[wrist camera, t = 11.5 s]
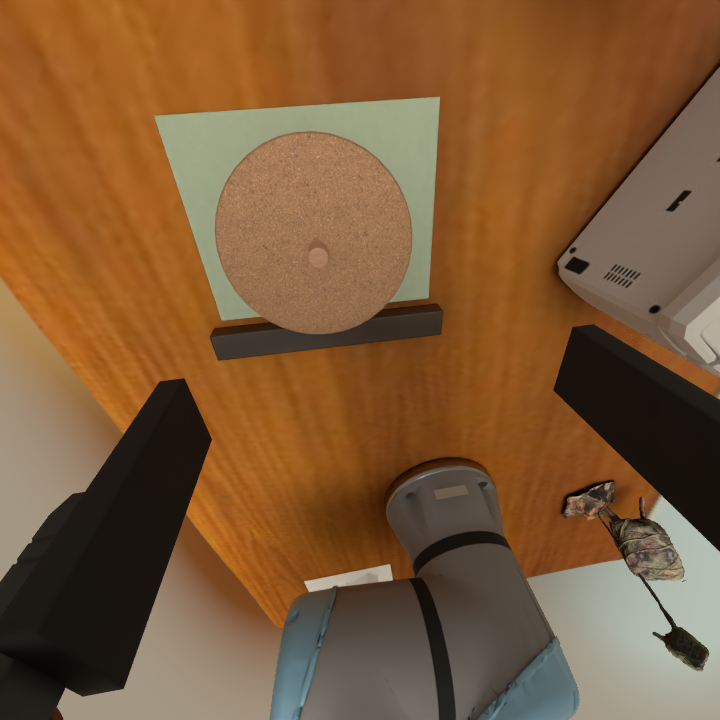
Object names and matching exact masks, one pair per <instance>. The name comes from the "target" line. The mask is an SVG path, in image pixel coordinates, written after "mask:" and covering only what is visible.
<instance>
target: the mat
mask: <svg viewBox="0 0 720 720" xmlns="http://www.w3.org/2000/svg"><path fill="white" fill-rule="evenodd" d="M439 106H440V97H428V98H413V99H398V100H383V101H368V102H353V103H338V104H322V105H307V106H292V107H277V108H262V109H247V110H232V111H217V112H202V113H187V114H172V115H157V116H154V117H155V120H156V123H157V126H158V129H159V132H160V135H161V138H162V141H163V144H164V147H165V150H166V153H167V156H168V159H169V162H170V165H171V168H172V172H173V175H174V178H175V181H176V184H177V187H178V190H179V193H180V196H181V199H182V202H183V205H184V208H185V211H186V214H187V217H188V220H189V223H190V226H191V229H192V232H193V235H194V238H195V241H196V244H197V247H198V250H199V253H200V256H201V259H202V262H203V265H204V268H205V272H206V275H207V278H208V281H209V284H210V287H211V290H212V293H213V296H214V299H215V302H216V305H217V308H218V311H219V314H220V317H221V320H222V321H226V320H235V319H244V318H253V317H262V316H260V315H259V314H257V313H256V312H255V311H254V310H253V309H251V308H250V307H249V306H248V305H247V304H246V303H245V302H244V301H243V300H242V298H241V297H240V296H239V295H238V294H237V293H236V291H235V290H234V288H233V287H232V285H231V283H230V282H229V280H228V279H227V276H226V274H225V272H224V270H223V267H222V265H221V262H220V258H219V255H218V251H217V246H216V238H215V216H216V211H217V206H218V201H219V197H220V195H221V192H222V190H223V187H224V185H225V183H226V181H227V179H228V178H229V176H230V175H231V173H232V171H233V170H234V168H235V167H236V166H237V165H238V164H239V163H240V161H241V160H242V159H243V158H244V157H245V156H246V155H247V154H248V153H250V152H251V151H252V150H254V149H255V148H257V147H258V146H259V145H261V144H262V143H264V142H267V141H269V140H271V139H273V138H275V137H277V136H281V135H285V134H289V133H293V132H304V131H317V132H324V133H331V134H334V135H337V136H340V137H343V138H346V139H349V140H351V141H353V142H355V143H356V144H358V145H360V146H362V147H364V148H365V149H367V150H368V151H369V152H370V153H372V154H373V155H374V156H375V157H377V158H378V159H379V160H380V161H381V162H382V163H383V165H384V166H385V167H386V168H387V169H388V170H389V171H390V172H391V174H392V175H393V177H394V179H395V180H396V182H397V183H398V185H399V186H400V188H401V191H402V193H403V195H404V198H405V200H406V202H407V206H408V210H409V213H410V217H411V225H412V251H411V256H410V261H409V265H408V268H407V271H406V274H405V277H404V279H403V281H402V283H401V285H400V287H399V289H398V290H397V292H396V293H395V295H394V296H393V297H392V299H391V300H390V301H389V302H388V303H390V302H399V301H408V300H417V299H426V298H429V283H430V265H431V247H432V230H433V212H434V194H435V177H436V159H437V141H438V123H439Z"/></svg>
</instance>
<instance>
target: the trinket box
mask: <svg viewBox="0 0 720 720" xmlns="http://www.w3.org/2000/svg"><path fill="white" fill-rule="evenodd" d="M215 238H216V246H217V251H218V255H219V258H220V262H221V265H222V267H223V270H224V272H225V274H226V276H227V279H228V280H229V282H230V283H231V285H232V287H233V288H234V290H235V291H236V293H237V294H238V295H239V296H240V297H241V298H242V300H243V301H244V302H245V303H246V304H247V305H248V306H249V307H250V308H251V309H253V310H254V311H255V312H256V313H257V314H259V315H260V316H262V317H263V318H265V319H266V320H268V321H269V322H272V323H274V324H276V325H278V326H280V327H282V328H285V329H288V330H291V331H295V332H300V333H306V334H330V333H336V332H341V331H345V330H348V329H350V328H353V327H356V326H358V325H360V324H362V323H364V322H365V321H367V320H369V319H370V318H372V317H373V316H374V315H376V314H377V313H378V312H379V311H381V310H382V309H383V308H384V307H385V305H386V304H387V303H388V302H389V301H390V300H391V299H392V297H393V296H394V295H395V293H396V292H397V290H398V289H399V287H400V285H401V283H402V281H403V279H404V277H405V274H406V271H407V268H408V265H409V261H410V256H411V251H412V225H411V217H410V213H409V210H408V206H407V202H406V200H405V198H404V195H403V193H402V191H401V188H400V186H399V185H398V183H397V182H396V180H395V179H394V177H393V175H392V174H391V172H390V171H389V170H388V169H387V168H386V167H385V166H384V165H383V163H382V162H381V161H380V160H379V159H378V158H377V157H375V156H374V155H373V154H372V153H370V152H369V151H368V150H367V149H365V148H364V147H362V146H360V145H358V144H356V143H355V142H353V141H351V140H349V139H346V138H343V137H340V136H337V135H334V134H331V133H324V132H317V131H304V132H293V133H289V134H285V135H281V136H277V137H275V138H273V139H271V140H269V141H267V142H264V143H262V144H261V145H259V146H258V147H257V148H255V149H254V150H252V151H251V152H250V153H248V154H247V155H246V156H245V157H244V158H243V159H242V160H241V161H240V163H239V164H238V165H237V166H236V167H235V168H234V170H233V171H232V173H231V175H230V176H229V178H228V179H227V181H226V183H225V185H224V187H223V190H222V192H221V195H220V197H219V201H218V206H217V211H216V216H215Z"/></svg>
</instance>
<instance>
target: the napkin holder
mask: <svg viewBox="0 0 720 720" xmlns="http://www.w3.org/2000/svg"><path fill="white" fill-rule="evenodd" d="M392 580H393V578H392V572H391V567H390V564H388V565H383V566H378V567H373V568H368V569H363V570H358V571H353V572H348V573H344V574H339V575H334V576H329V577H324V578H319V579H314V580H309V581H304V583H305V585H306V587H307V589H308V590H309V592H313V591H318V590H324V589H329V588H332V587H333V586H334V585H335V586H336V585H338V587H342V586H350V585H359V584H367V583H375V582H384V581H392Z"/></svg>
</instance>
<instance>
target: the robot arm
mask: <svg viewBox="0 0 720 720" xmlns="http://www.w3.org/2000/svg"><path fill="white" fill-rule="evenodd" d="M554 391H555V392H556V393H557V394H558V395H559V396H560V397H561V398H562V399H563V400H564V401H565V402H566V403H567V404H568V405H569V406H570V407H571V408H572V409H573V410H574V411H575V412H576V413H577V414H578V415H579V416H580V417H582V418H583V419H584V420H585V421H586V422H587V423H588V424H589V425H590V426H591V427H592V428H593V429H594V430H595V431H596V432H597V433H598V434H599V435H600V436H601V437H602V438H603V439H604V440H605V441H606V442H607V443H608V444H609V445H610V446H611V447H612V448H613V449H614V450H616V451H617V452H618V453H619V454H620V455H621V456H622V457H623V458H624V459H625V460H626V461H627V462H628V463H629V464H630V465H631V466H632V467H633V468H634V469H635V470H636V471H637V472H638V473H639V474H640V475H641V476H642V477H643V478H644V479H645V480H646V481H647V482H648V483H650V484H651V485H652V486H653V487H654V488H655V489H656V490H657V491H658V492H659V493H660V494H661V495H662V496H663V497H664V498H665V499H666V500H667V501H668V502H669V503H670V504H671V505H672V506H673V507H674V508H675V509H676V510H677V511H678V512H679V513H681V514H682V516H683V517H685V518H686V519H687V520H688V521H689V522H690V523H691V524H692V525H693V526H694V527H695V528H696V529H697V530H698V531H699V532H700V533H701V534H702V535H703V536H704V537H705V538H706V539H707V540H708V541H709V542H710V543H711V544H712V545H713V546H714V547H716V549H718V550H719V551H720V399H717V398H716V397H714V396H712V395H711V394H709V393H707V392H706V391H704V390H702V389H701V388H699V387H697V386H696V385H694V384H692V383H691V382H689V381H687V380H686V379H684V378H682V377H681V376H679V375H677V374H676V373H674V372H672V371H671V370H669V369H667V368H666V367H664V366H662V365H660V364H659V363H657V362H655V361H654V360H652V359H650V358H649V357H647V356H645V355H644V354H642V353H640V352H639V351H637V350H635V349H634V348H632V347H630V346H629V345H627V344H625V343H624V342H622V341H620V340H619V339H617V338H615V337H614V336H612V335H610V334H609V333H607V332H605V331H604V330H602V329H600V328H599V327H597V326H595V325H594V324H593V325H585V326H578V327H572V331H571V334H570V337H569V341H568V344H567V347H566V350H565V354H564V357H563V360H562V363H561V367H560V370H559V373H558V377H557V380H556V383H555V386H554ZM211 441H212V438H211V436H210V434H209V432H208V430H207V427H206V425H205V423H204V421H203V419H202V416H201V414H200V412H199V410H198V407H197V405H196V403H195V401H194V399H193V396H192V394H191V392H190V390H189V388H188V385H187V383H186V381H185V379H184V378H183V379H175V380H168V381H160V382H159V383H158V385H157V386H156V388H155V389H154V391H153V392H152V394H151V395H150V397H149V398H148V400H147V401H146V403H145V404H144V406H143V407H142V408H141V410H140V411H139V413H138V414H137V416H136V417H135V419H134V420H133V422H132V423H131V425H130V426H129V428H128V429H127V431H126V432H125V434H124V435H123V437H122V438H121V440H120V441H119V443H118V444H117V445H116V447H115V448H114V450H113V451H112V453H111V454H110V456H109V457H108V459H107V460H106V462H105V463H104V465H103V466H102V468H101V469H100V471H99V472H98V474H97V475H96V477H95V478H94V479H93V481H92V483H91V484H90V485H89V487H88V488H87V490H86V491H85V492H82V493H76V494H72V495H71V496H70V497H69V498H68V499H66V501H64V502H63V503H62V504H61V505H60V506H59V507H58V508H57V509H56V510H54V511H53V512H52V513H51V514H50V515H49V516H48V518H47V519H46V520H45V522H44V523H43V524H42V526H41V527H40V528H39V530H38V531H37V533H36V534H35V535H34V537H33V538H32V543H29V544H28V545H27V546H26V548H25V549H24V550H23V552H22V553H21V554H20V556H19V557H18V558H17V560H18V561H17V563H16V564H13V565H12V567H11V568H10V569H9V571H8V572H7V574H6V575H5V576H4V578H3V579H2V580H1V582H0V720H63V717H62V715H61V713H60V711H59V710H58V708H56V707H57V705H58V703H59V700H60V698H61V696H62V694H63V692H64V690H65V688H67V689H69V690H71V691H73V692H75V693H77V694H79V695H81V696H88V695H93V694H99V693H104V692H109V691H115V690H120V689H124V686H125V683H126V681H127V678H128V675H129V672H130V669H131V667H132V664H133V661H134V658H135V655H136V652H137V649H138V647H139V644H140V641H141V638H142V636H143V633H144V630H145V627H146V624H147V621H148V619H149V615H150V613H151V610H152V607H153V604H154V602H155V599H156V596H157V593H158V590H159V587H160V585H161V582H162V579H163V576H164V573H165V570H166V568H167V565H168V562H169V559H170V556H171V554H172V551H173V548H174V545H175V542H176V539H177V537H178V534H179V531H180V528H181V525H182V522H183V520H184V517H185V514H186V511H187V508H188V506H189V503H190V500H191V497H192V494H193V491H194V489H195V486H196V483H197V480H198V477H199V474H200V472H201V469H202V466H203V463H204V460H205V457H206V455H207V452H208V449H209V446H210V443H211ZM384 505H385V511H386V516H387V520H388V522H389V524H390V526H391V528H392V529H393V531H394V533H395V535H396V536H397V538H398V540H399V542H400V543H401V545H402V547H403V549H404V550H405V552H406V554H407V555H408V557H409V559H410V561H411V563H412V567H413V571H414V575H415V578H410V579H400V580H392V581H384V582H375V583H367V584H359V585H350V586H342V587H338V585H336V586H335V585H334V586H333V587H332V588H329V589H324V590H318V591H313V592H307V593H304V594H302V595H300V596H299V597H297V598H296V599H295V601H294V602H293V603H292V605H291V607H290V609H289V611H288V614H287V617H286V621H285V625H284V629H283V634H282V639H281V644H280V650H279V655H278V661H277V668H276V674H275V682H274V688H273V696H272V704H271V712H270V720H568V719H570V718H571V717H572V716H573V715H574V714H575V713H576V711H577V709H578V706H579V691H578V687H577V684H576V682H575V680H574V677H573V675H572V673H571V670H570V668H569V666H568V663H567V661H566V659H565V657H564V654H563V652H562V649H561V647H560V642H559V640H558V638H557V637H555V635H554V633H553V631H552V629H551V627H550V625H549V623H548V621H547V620H546V617H545V616H544V613H543V612H542V609H541V608H540V606H539V604H538V602H537V600H536V598H535V596H534V594H533V592H532V590H531V588H530V586H529V584H528V582H527V580H526V578H525V576H524V574H523V572H522V570H521V568H520V566H519V564H518V562H517V560H516V558H515V556H514V554H513V552H512V550H511V548H510V546H509V544H508V542H507V540H506V538H505V536H504V533H503V527H502V521H501V515H500V509H499V503H498V498H497V492H496V487H495V485H494V483H493V481H492V479H491V477H490V475H489V474H488V472H487V470H486V469H485V468H484V467H482V466H481V465H479V464H478V463H475V462H473V461H470V460H465V459H441V460H436V461H432V462H428V463H425V464H422V465H420V466H417V467H415V468H413V469H411V470H409V471H408V472H406V473H405V474H403V475H402V476H400V477H399V478H398V479H397V480H396V481H395V482H394V483H393V484H392V485H391V486H390V488H389V489H388V491H387V493H386V496H385V500H384Z"/></svg>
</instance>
